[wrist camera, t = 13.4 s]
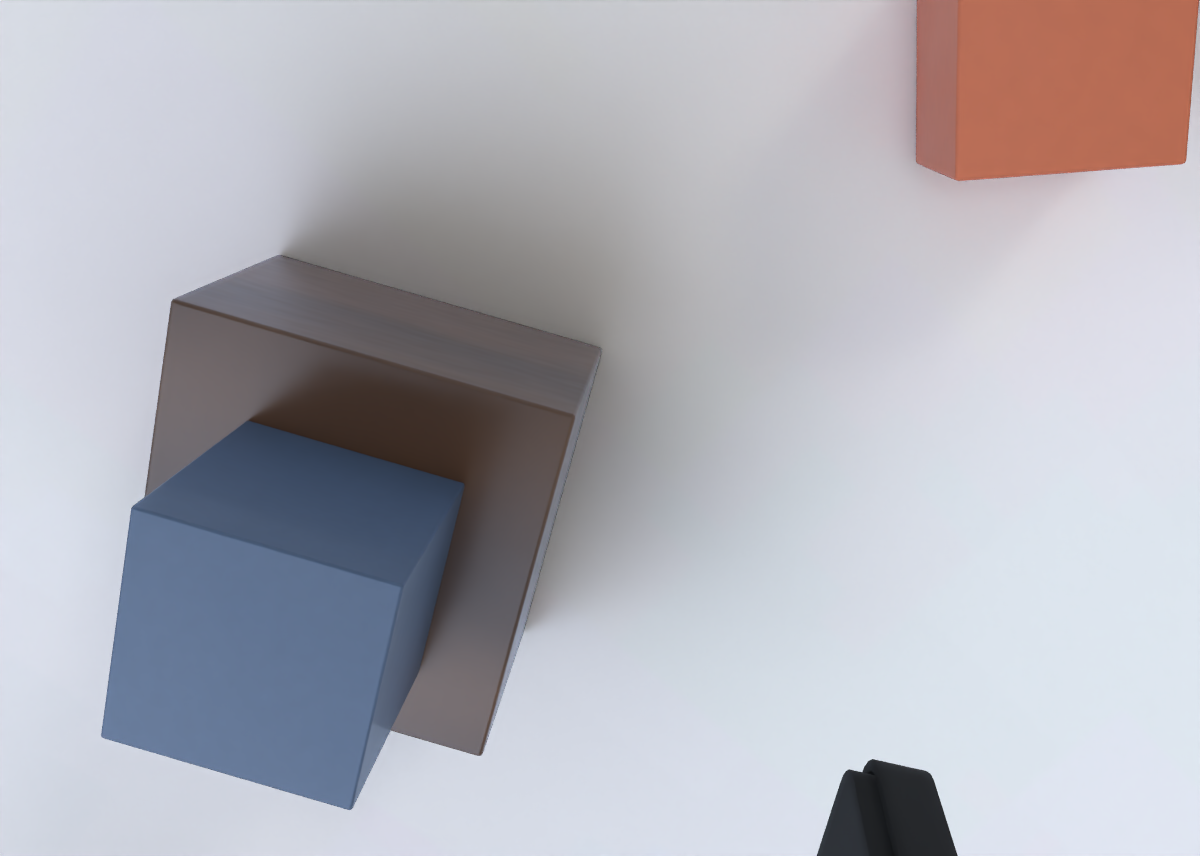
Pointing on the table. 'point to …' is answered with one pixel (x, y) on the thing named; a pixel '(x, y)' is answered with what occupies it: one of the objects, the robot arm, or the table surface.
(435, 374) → the walnut base
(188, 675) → the blue cube
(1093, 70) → the terracotta cube
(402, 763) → the table surface
